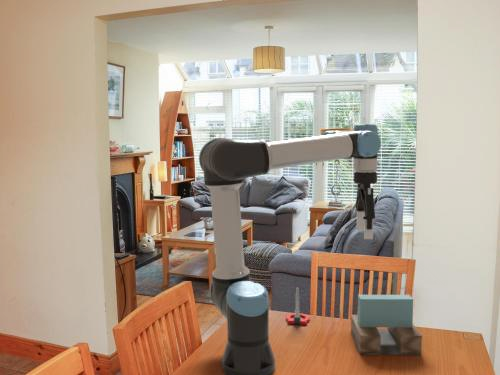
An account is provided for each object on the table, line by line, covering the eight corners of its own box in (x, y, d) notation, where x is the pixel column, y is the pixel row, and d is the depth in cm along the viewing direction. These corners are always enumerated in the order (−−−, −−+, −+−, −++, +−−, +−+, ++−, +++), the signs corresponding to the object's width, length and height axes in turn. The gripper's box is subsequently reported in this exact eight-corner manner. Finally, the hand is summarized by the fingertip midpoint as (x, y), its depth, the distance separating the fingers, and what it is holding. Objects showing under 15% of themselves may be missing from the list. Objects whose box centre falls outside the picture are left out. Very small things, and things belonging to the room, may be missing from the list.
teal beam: (408, 322, 152) (409, 294, 150) (412, 327, 148) (413, 299, 146) (357, 322, 152) (358, 294, 151) (360, 327, 148) (360, 299, 147)
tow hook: (286, 315, 175) (284, 324, 166) (287, 280, 174) (285, 288, 165) (310, 316, 174) (309, 326, 164) (310, 281, 173) (309, 289, 163)
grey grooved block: (360, 354, 143) (360, 335, 142) (351, 332, 159) (351, 314, 158) (421, 355, 142) (421, 335, 142) (405, 332, 158) (406, 314, 157)
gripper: (386, 174, 146) (384, 243, 148) (369, 167, 170) (368, 226, 173) (361, 174, 146) (359, 243, 149) (347, 168, 171) (347, 226, 173)
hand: (364, 234), depth 161 cm, fingers open, 13 cm apart
